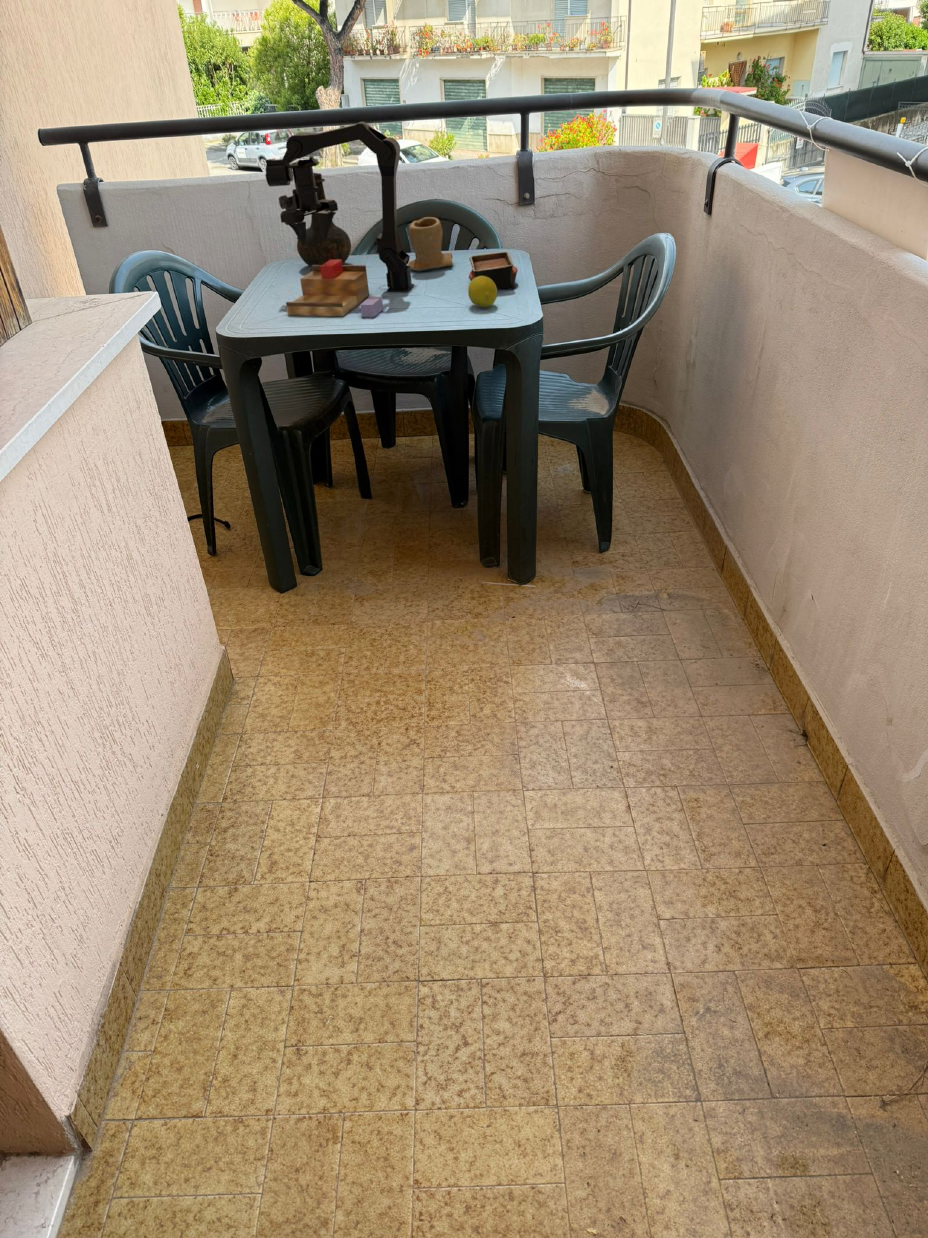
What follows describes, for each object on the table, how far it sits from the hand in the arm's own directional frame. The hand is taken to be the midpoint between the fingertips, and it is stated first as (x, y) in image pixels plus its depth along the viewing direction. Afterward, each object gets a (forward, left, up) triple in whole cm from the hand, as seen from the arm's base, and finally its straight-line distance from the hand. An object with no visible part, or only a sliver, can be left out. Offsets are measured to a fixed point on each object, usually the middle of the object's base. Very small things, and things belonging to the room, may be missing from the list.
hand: (314, 242), depth 248 cm
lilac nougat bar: (-24, +20, -14) cm, 34 cm away
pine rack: (-8, +13, -14) cm, 21 cm away
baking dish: (-52, -9, -14) cm, 54 cm away
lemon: (-54, +12, -14) cm, 57 cm away
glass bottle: (+11, -29, -14) cm, 34 cm away
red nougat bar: (-8, +8, -7) cm, 13 cm away
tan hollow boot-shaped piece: (-27, -27, -14) cm, 41 cm away
